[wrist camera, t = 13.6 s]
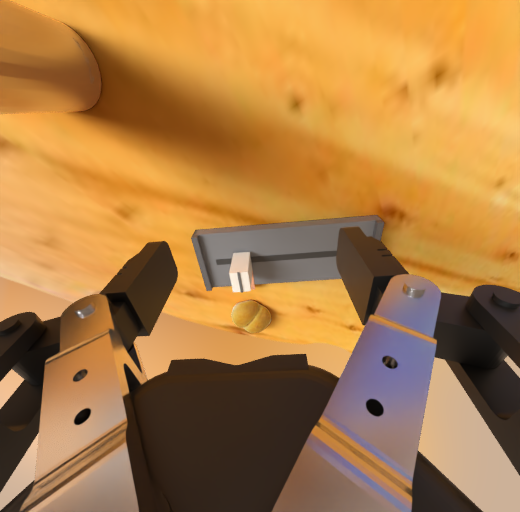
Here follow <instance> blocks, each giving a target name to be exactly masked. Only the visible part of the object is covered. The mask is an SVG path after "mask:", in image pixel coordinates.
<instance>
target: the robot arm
mask: <svg viewBox="0 0 520 512" xmlns="http://www.w3.org/2000/svg"><path fill="white" fill-rule="evenodd" d="M101 85H102V82H101V74H100V71H99V67H98V64H97V62H96V60H95V57H94V55H93V53H92V52H91V50H90V49H89V47H88V45H87V44H86V43H85V42H84V40H83V39H82V38H81V37H80V36H79V35H78V34H77V33H76V32H75V31H74V30H73V29H71V28H70V27H68V26H67V25H65V24H64V23H62V22H60V21H57V20H55V19H52V18H50V17H48V16H45V15H43V14H40V13H38V12H36V11H33V10H31V9H29V8H27V7H24V6H22V5H19V4H17V3H14V2H12V1H10V0H0V114H12V113H44V112H78V111H86V110H88V109H90V108H92V107H93V106H94V105H95V104H96V103H97V101H98V99H99V97H100V93H101ZM336 264H337V269H338V271H339V274H340V276H341V278H342V280H343V282H344V285H345V287H346V289H347V291H348V293H349V296H350V298H351V300H352V302H353V305H354V307H355V309H356V311H357V313H358V316H359V318H360V320H361V322H362V324H363V325H365V327H364V329H363V331H362V333H361V335H360V338H359V340H358V342H357V344H356V346H355V348H354V350H353V352H352V354H351V356H350V358H349V360H348V362H347V365H346V367H345V369H344V371H343V373H342V375H341V377H340V378H338V377H337V376H335V375H333V374H332V373H330V372H327V371H326V370H323V369H321V368H318V367H315V366H311V365H308V363H307V357H306V354H294V355H273V356H269V357H265V358H262V359H258V360H255V361H252V362H248V363H245V364H241V365H231V364H226V363H221V362H217V361H212V360H207V359H184V360H172V361H171V363H170V366H169V369H168V371H167V372H165V373H163V374H160V375H158V376H155V377H154V378H152V379H150V380H148V379H147V376H146V373H145V370H144V367H143V364H142V361H141V358H140V354H139V351H138V348H137V346H136V344H135V342H134V340H135V339H136V337H137V336H149V335H150V333H151V331H152V330H153V327H154V325H155V323H156V321H157V319H158V317H159V315H160V313H161V311H162V309H163V307H164V305H165V303H166V301H167V299H168V297H169V295H170V293H171V291H172V289H173V287H174V285H175V283H176V281H177V277H178V271H177V267H176V264H175V261H174V259H173V256H172V253H171V250H170V248H169V245H168V243H167V242H165V241H161V242H149V243H147V244H146V245H145V247H144V248H143V249H142V250H141V251H140V253H139V254H137V255H135V256H134V257H133V258H131V259H130V260H128V261H127V263H126V264H125V265H124V266H123V267H122V268H123V269H121V270H120V271H119V272H118V273H117V275H115V276H114V278H113V279H112V280H111V281H110V282H109V283H108V284H107V286H106V287H105V288H104V289H103V290H102V291H101V293H100V294H95V295H90V296H87V297H84V298H82V299H80V300H78V301H76V302H74V303H73V304H72V305H70V306H69V307H68V308H67V309H66V310H65V311H64V312H63V313H62V315H61V317H58V318H54V319H50V320H47V321H43V322H42V321H41V319H40V318H39V317H38V316H37V315H36V314H35V313H32V312H25V313H21V314H17V315H14V316H12V317H9V318H7V319H5V320H3V321H2V322H0V381H1V380H2V379H3V378H4V377H5V375H6V374H7V373H8V372H9V371H10V370H11V369H13V370H14V371H15V372H16V373H18V374H19V375H20V376H21V377H22V378H24V379H25V380H24V381H23V382H22V383H21V385H20V386H19V387H18V388H17V390H16V391H15V392H14V394H13V395H12V396H11V397H10V398H9V399H8V401H7V402H6V403H5V404H4V406H3V407H2V408H1V409H0V492H1V491H2V489H3V487H4V486H5V484H6V482H7V481H8V480H9V478H10V476H11V475H12V473H13V472H14V470H15V469H16V467H17V466H18V464H19V462H20V461H21V459H22V458H23V456H24V455H25V453H26V451H27V449H28V448H29V447H30V445H31V443H32V442H33V440H34V439H35V437H36V436H37V434H38V433H39V438H38V449H37V460H36V471H35V480H34V481H33V482H32V483H31V484H29V485H28V486H27V487H26V488H25V489H24V490H23V491H22V492H21V493H19V494H18V495H17V496H16V497H15V498H14V499H13V500H12V501H11V502H10V503H9V504H7V505H6V506H5V507H4V508H3V509H2V510H1V511H0V512H483V511H482V510H481V509H479V508H478V507H477V506H476V505H475V504H474V503H473V502H472V501H471V500H470V499H469V498H468V497H467V496H466V495H465V494H464V493H462V492H461V491H460V490H459V489H458V488H457V487H456V486H455V485H454V484H453V483H452V482H451V481H450V480H449V479H448V478H447V477H446V476H445V475H443V474H442V473H441V472H440V471H439V470H438V469H437V468H436V467H435V466H434V465H433V464H432V463H431V462H430V461H429V460H428V459H427V458H425V457H424V456H423V455H422V454H421V453H420V452H419V451H418V446H419V440H420V434H421V429H422V424H423V418H424V412H425V407H426V401H427V396H428V390H429V384H430V379H431V373H432V368H433V362H434V357H436V358H441V359H445V360H446V362H447V363H448V365H449V366H450V368H451V370H452V371H453V373H454V374H455V375H456V377H457V379H458V380H459V382H460V383H461V385H462V386H463V388H464V390H465V391H466V393H467V394H468V396H469V397H470V399H471V400H472V402H473V404H474V405H475V407H476V408H477V410H478V411H479V413H480V415H481V416H482V418H483V419H484V421H485V422H486V424H487V425H488V427H489V429H490V430H491V432H492V433H493V435H494V436H495V438H496V439H497V441H498V442H499V444H500V446H501V447H502V449H503V450H504V451H505V453H506V455H507V456H508V458H509V459H510V461H511V463H512V464H513V466H514V467H515V469H516V470H517V472H518V474H519V475H520V378H519V377H518V376H517V374H516V373H515V372H514V371H513V370H512V369H511V368H510V366H509V365H508V364H507V363H506V362H505V361H504V359H505V358H506V357H507V356H509V357H510V358H511V359H512V360H513V361H514V363H515V364H516V365H517V366H518V367H519V368H520V293H519V292H517V291H514V290H512V289H509V288H505V287H501V286H496V285H481V286H478V287H476V288H475V289H474V290H473V292H472V294H471V296H470V297H468V296H461V295H454V294H447V293H442V292H441V291H440V290H439V288H438V287H437V286H436V285H435V284H434V283H432V282H431V281H429V280H427V279H425V278H423V277H419V276H416V275H410V274H409V273H408V272H407V271H406V270H405V269H404V268H403V266H402V265H401V264H400V263H399V262H398V261H397V259H396V258H395V257H394V256H392V254H391V253H390V251H389V250H387V248H386V247H385V246H384V244H383V243H382V242H381V241H379V240H377V239H375V238H373V237H372V236H369V237H367V236H366V235H365V234H364V233H363V231H362V230H361V229H360V227H358V226H357V227H344V228H340V230H339V236H338V245H337V255H336Z"/></svg>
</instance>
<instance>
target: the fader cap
mask: <svg viewBox="0 0 520 512" xmlns="http://www.w3.org/2000/svg"><path fill="white" fill-rule="evenodd" d="M229 275H230V280H231V284H232V289H233V292H243V291H251V282H252V263H251V257H250V252H239V253H233V257H232V262H231V267H230V271H229Z"/></svg>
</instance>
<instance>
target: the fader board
mask: <svg viewBox="0 0 520 512" xmlns="http://www.w3.org/2000/svg"><path fill="white" fill-rule="evenodd" d="M357 226H358V227H360V229H361V230H362V231H363V233H364V234H365V235H366V236H367V237H369V236H372V237H373V238H375V239H377V240H379V241H380V240H381V236H382V231H383V227H384V222H383V221H382V220H381V219H380V218H379V217H378V216H377V215H370V216H358V217H346V218H334V219H322V220H310V221H298V222H286V223H274V224H262V225H250V226H238V227H226V228H214V229H202V230H195V232H194V234H193V236H192V237H191V239H192V243H193V246H194V249H195V253H196V256H197V259H198V263H199V266H200V269H201V273H202V276H203V279H204V283H205V286H206V290H207V291H211V290H212V288H213V287H223V286H232V284H231V280H230V275H229V271H230V267H231V262H232V257H233V253H239V252H250V257H251V263H252V282H251V289H255V285H254V284H268V283H283V282H298V281H313V280H328V279H342V278H341V276H340V274H339V271H338V269H337V264H336V255H337V245H338V236H339V230H340V228H344V227H357Z"/></svg>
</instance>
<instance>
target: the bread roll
mask: <svg viewBox="0 0 520 512" xmlns="http://www.w3.org/2000/svg"><path fill="white" fill-rule="evenodd" d="M231 317H232V321H233V322H234V324H235V325H236V326H237V327H240V328H244V329H245V330H246V331H248V332H250V333H258V332H261V331H262V330H264V329H265V328H266V327H267V326H268V325H269V324H270V322H271V314H270V312H269V310H268V309H267V308H266V307H264V306H262V305H260V304H259V303H257V302H256V301H253V300H247V301H243V302H239V303H237V304H236V305H235V306H234V307H233V310H232V314H231Z"/></svg>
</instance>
